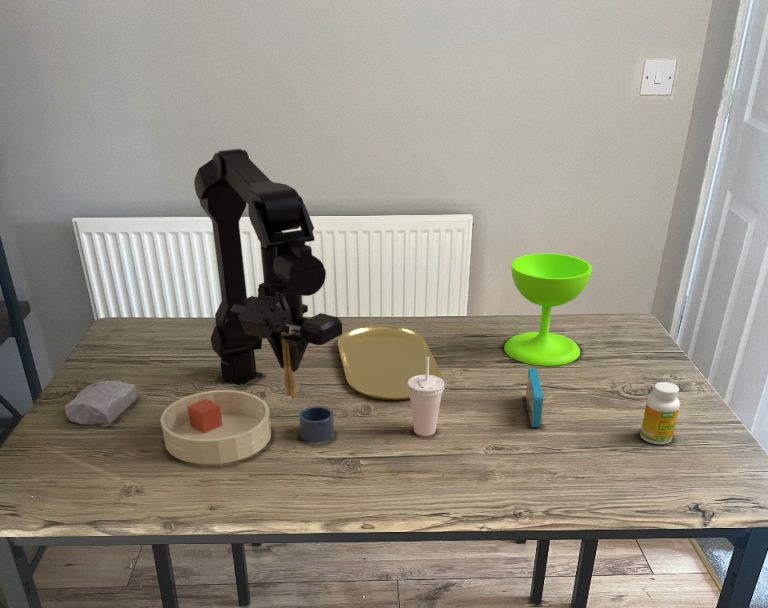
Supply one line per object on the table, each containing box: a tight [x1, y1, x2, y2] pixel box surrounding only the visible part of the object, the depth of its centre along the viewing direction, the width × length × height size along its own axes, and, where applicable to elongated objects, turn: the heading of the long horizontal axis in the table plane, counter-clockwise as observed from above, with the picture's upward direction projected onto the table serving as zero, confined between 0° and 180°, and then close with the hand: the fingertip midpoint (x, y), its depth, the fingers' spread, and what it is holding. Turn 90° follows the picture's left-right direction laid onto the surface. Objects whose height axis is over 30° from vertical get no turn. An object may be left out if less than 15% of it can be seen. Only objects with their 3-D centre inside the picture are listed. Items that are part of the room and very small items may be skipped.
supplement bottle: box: [639, 381, 681, 445], centre depth 137 cm, size 5×5×10 cm
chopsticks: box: [279, 332, 297, 398], centre depth 132 cm, size 1×2×11 cm, turn 56°
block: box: [188, 399, 222, 434], centre depth 141 cm, size 4×4×4 cm
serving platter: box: [337, 324, 442, 401], centre depth 164 cm, size 19×35×2 cm, turn 9°
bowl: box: [159, 389, 272, 465], centre depth 138 cm, size 18×18×5 cm
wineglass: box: [503, 252, 593, 367], centre depth 165 cm, size 16×16×18 cm
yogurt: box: [525, 368, 544, 428], centre depth 146 cm, size 12×2×6 cm, turn 176°
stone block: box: [64, 380, 138, 426], centre depth 148 cm, size 12×5×10 cm
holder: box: [298, 405, 335, 444], centre depth 139 cm, size 6×6×4 cm
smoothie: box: [407, 357, 445, 437], centre depth 138 cm, size 6×6×14 cm
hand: (289, 369), depth 133 cm, fingers closed on chopsticks
